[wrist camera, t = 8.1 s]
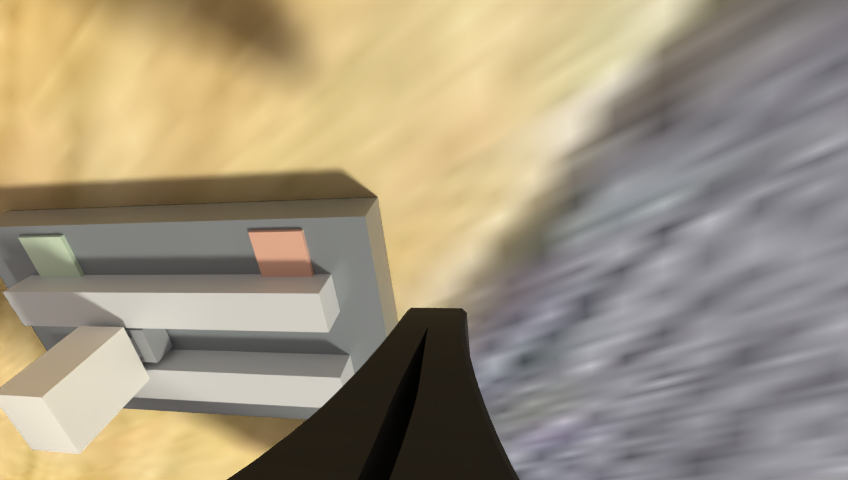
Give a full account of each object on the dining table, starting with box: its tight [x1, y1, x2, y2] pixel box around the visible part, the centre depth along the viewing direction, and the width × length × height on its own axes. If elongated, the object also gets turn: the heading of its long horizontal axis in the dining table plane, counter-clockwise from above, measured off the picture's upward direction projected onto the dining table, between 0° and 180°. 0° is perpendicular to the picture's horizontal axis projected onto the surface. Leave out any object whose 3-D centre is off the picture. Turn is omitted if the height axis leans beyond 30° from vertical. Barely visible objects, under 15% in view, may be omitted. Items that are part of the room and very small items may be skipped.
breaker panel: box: [0, 197, 398, 420], centre depth 23 cm, size 20×12×4 cm, turn 96°
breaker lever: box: [0, 326, 173, 454], centre depth 21 cm, size 3×3×6 cm
